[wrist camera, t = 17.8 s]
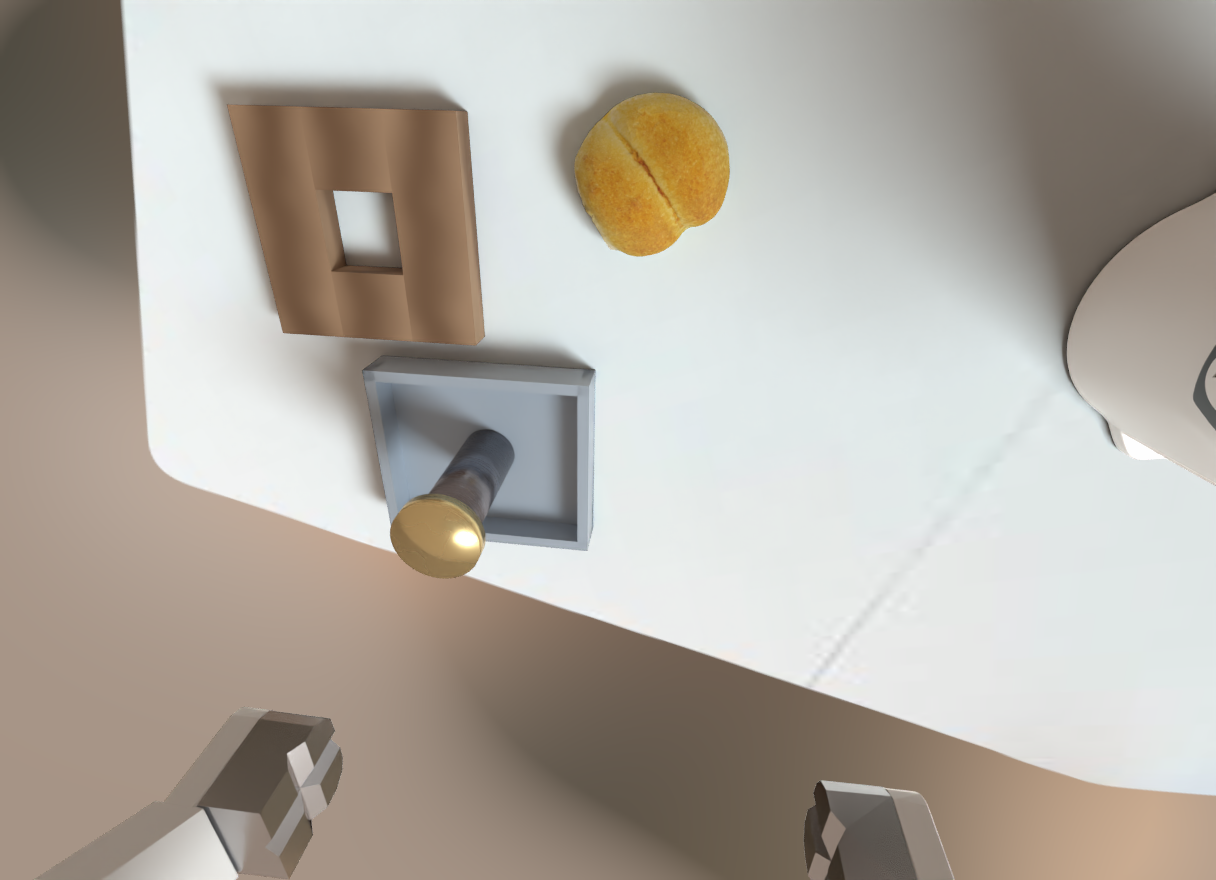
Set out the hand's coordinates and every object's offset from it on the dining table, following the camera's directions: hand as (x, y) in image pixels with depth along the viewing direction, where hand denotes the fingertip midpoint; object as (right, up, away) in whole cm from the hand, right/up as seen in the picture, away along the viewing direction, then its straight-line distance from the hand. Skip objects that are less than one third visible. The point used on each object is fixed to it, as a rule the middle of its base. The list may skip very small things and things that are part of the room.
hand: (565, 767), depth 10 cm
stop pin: (-9, +5, +36) cm, 37 cm away
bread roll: (+3, +22, +26) cm, 34 cm away
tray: (-8, +5, +36) cm, 37 cm away
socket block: (-15, +20, +29) cm, 38 cm away
